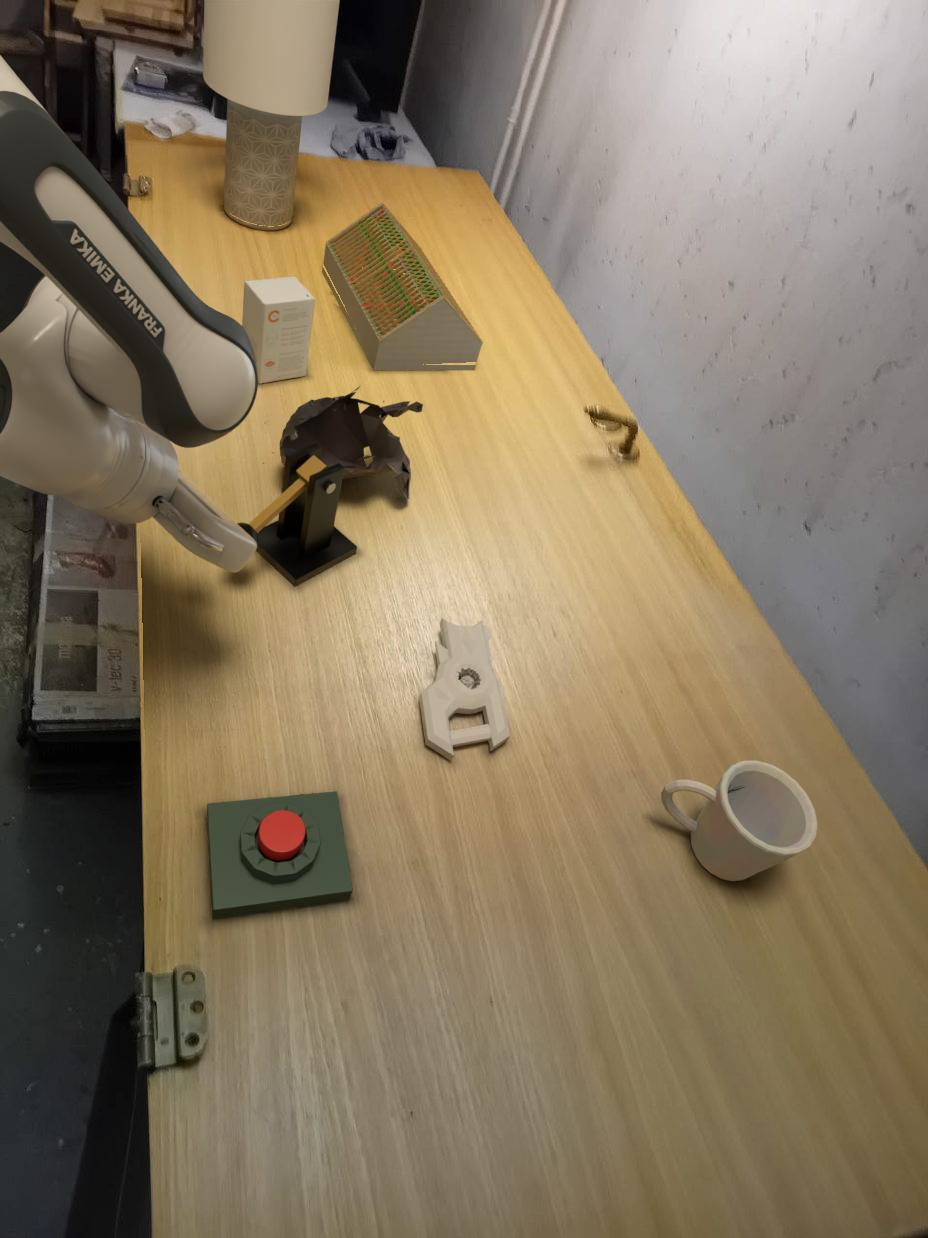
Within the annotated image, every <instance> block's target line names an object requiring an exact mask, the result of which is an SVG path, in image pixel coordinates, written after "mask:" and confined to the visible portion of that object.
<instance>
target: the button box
mask: <svg viewBox="0 0 928 1238" xmlns="http://www.w3.org/2000/svg"><path fill="white" fill-rule="evenodd" d="M280 810H286V811H290V812H293V813H295V814H296V815H298V816H299V817H300V818H301V820H302V821H303V823H304V825H305V837H304V841H303V845H302V848H301V849H300V851H299V852H298V853H297V854H296V855H295V856H294V857H292V858H290V859H287V860H281V861H279V860H273V859H270V858H268V857H267V856H265V855H264V854H263V853H262V851H261V850H260V848H259V845H258V833H259V827H260V824H261V822H262V821H263V819H264V818H265V817H266V816H267V815H269V814H270V813H272V812H275V811H280ZM341 813H342V812H341V807H340V801H339V795H338V791H336V790H335V791H326V792H315V793H305V794H304V793H303V794H293V795H284V796H273V797H262V798H253V799H251V798H250V799H243V800H242V799H241V800H231V801H220V802H209V803H207V804H206V828H207V829H206V830H207V848H208V862H209V863H208V865H209V866H208V867H209V883H210V884H209V885H210V901H211V919H212V920H220V919H226V918H233V917H241V916H248V915H254V914H255V915H256V914H261V913H262V914H263V913H269V912H276V911H282V910H289V909H290V910H291V909H297V908H304V907H311V906H318V905H325V904H332V903H339V902H340V903H341V902H346V901H350V899H351V897H352V894H353V891H354V888H353V883H352V882H353V881H352V876H351V869H350V863H349V858H348V857H349V856H348V851H347V844H346V840H345V839H346V838H345V833H344V827H343V820H342V814H341Z"/></svg>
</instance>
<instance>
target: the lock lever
mask: <svg viewBox="0 0 928 1238" xmlns="http://www.w3.org/2000/svg"><path fill="white" fill-rule="evenodd" d="M326 468H327V466H326V465H325V464H324V463H323V462H322V461H320V460H319V459H318V458H317V457H316V456H314V455H313V456H312V457H311V458H310V459H308V460H307V461H306V462H305V463H304V464H303V465H302V466H301V467H300V468H298V469H297V470H296V472H297V474H298V476H299V479H298V480H297V481H295V482H294V483H293V484H292V485H291V486H290V487H289V488H288V489H287V490H286V491H284V492H283V493H282V492H281V493H282V494H281V493H280V495H279V496H277V498H276V499H274V500H273V501H272V502H271V503H270V504H269V505H268V506H266V508H265V509H263V510H262V511H261V512H260V513H258V514H257V515H256V517H254V518H253V519H252V520H251V521H250V522H249V523H247V522H236V523H237V524H238V525H239V526H240V527H241V528H242V529H243V530H244V531H246V532H247V533H248V534H249V535H250V536H251V537H252V538H253V539H254V540H255V541H256V543H257V544H258V534H257V533H258V532H259V531H260V530H262V529H263V528H264V527H265V526H267V525H269V524H270V522H272V521H273V520H274V519H275V518H276V517H277V516H279V513H280V512H281V511H282V510H284V509H285V508H286V507H287V506H288V505H289V504H290V503H291V502H292V501H293V500H295V499H296V498H297V497H298V496H299V495H300V494H301V493H302V492H303V491H304V490H306V489H307V488H308V484H309V478H310V475H313V474H315V473H317V472H319V471H322V470H324V469H326Z"/></svg>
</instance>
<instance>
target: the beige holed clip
mask: <svg viewBox="0 0 928 1238" xmlns="http://www.w3.org/2000/svg"><path fill="white" fill-rule="evenodd" d="M483 620H484V619H481V620H479V622H477V623H476V624H474V625H458V624H455V623H453V622H450V621H448V620H446V619H445V618H443V617H441V618H440V621H439V628H440V634H441V641H442V644H441V643H439V642H438V641H437V640H435V641H434V647H435V655H436V665H437V668H436V671H435V676H434V681H433V682H432V683H430V684H429V685H428V686H426V688H424V689H423V690H422V691H421V692H420V694H419V696H418V699H419V706H420V714H421V722H422V728H423V729H422V730H423V737H424V743H425V745H426V746H428V747H429V748H431V749H432V750H434V751H435V752H437V753H439V754H440V755H442V756H443V757H445V758H446V759H448V760H450V761H452V760H453V758H454V757H455V753H454V752H455V751H454V747H455V748H457V747H461V746H466V745H471V744H477V743H482V742H487V741H488V746H489V751H490V753H491V752H492V751H494V750H495V749H497V748H499V746H501V745H502V744H504V743H506V742H507V741H508V739H509V738H510V736H511V733H510V729H509V725H508V724H509V723H508V719H507V715H506V709H505V704H504V698H505V688H506V686H505V685H503V686H501V685H500V680H499V679H498V677H497V675H496V672H495V671H494V668H493V666H492V660H493V655H492V652H491V651H492V650H491V646H490V642H489V641H490V639H491V637H492V634H491V630H490V627H488V626H486V625H484V622H483ZM479 712H482V713H483V719H484V724H480V725H475V726H470V727H465V728H460V729H454V730H451V728H450V721H449V719H450V718H452V716H454V715H455V714H463V715H473V714H475V713H479Z"/></svg>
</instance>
